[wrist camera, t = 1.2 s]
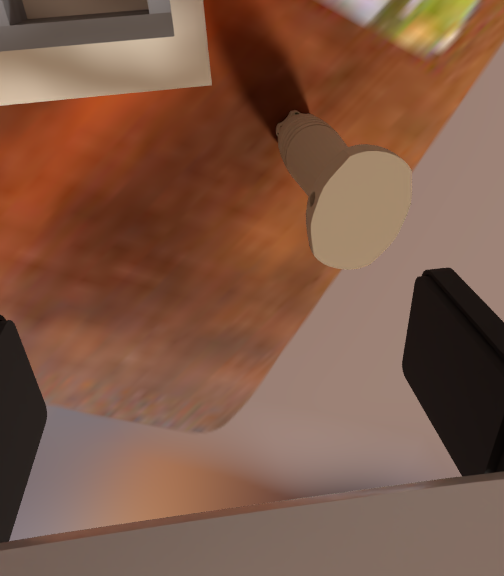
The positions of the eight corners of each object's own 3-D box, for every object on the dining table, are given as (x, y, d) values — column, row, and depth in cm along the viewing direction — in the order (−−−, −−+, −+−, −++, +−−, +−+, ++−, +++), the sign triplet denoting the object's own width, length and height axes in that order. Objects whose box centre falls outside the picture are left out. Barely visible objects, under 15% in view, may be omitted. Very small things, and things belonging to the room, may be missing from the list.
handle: (338, 94, 35) (430, 162, 23) (311, 176, 39) (379, 275, 26) (276, 78, 34) (338, 141, 22) (254, 165, 37) (296, 262, 25)
